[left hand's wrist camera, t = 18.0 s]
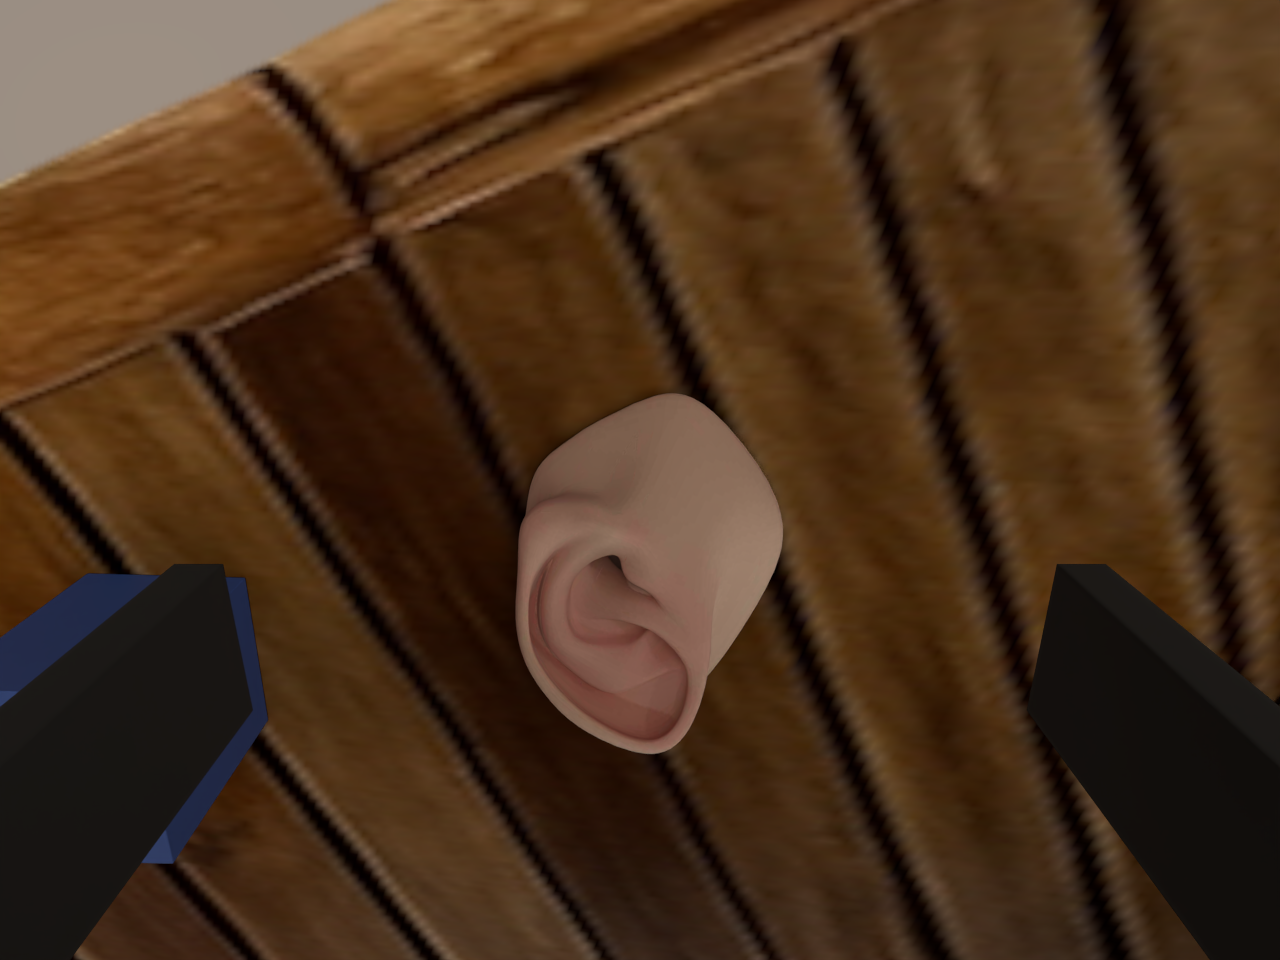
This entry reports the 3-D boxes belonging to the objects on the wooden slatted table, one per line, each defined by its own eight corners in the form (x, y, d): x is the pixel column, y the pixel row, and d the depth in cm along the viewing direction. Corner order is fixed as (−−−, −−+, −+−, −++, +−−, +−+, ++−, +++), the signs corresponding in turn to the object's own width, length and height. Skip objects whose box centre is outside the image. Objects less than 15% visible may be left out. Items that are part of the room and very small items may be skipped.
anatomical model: (624, 371, 26) (881, 555, 29) (625, 347, 30) (853, 511, 32) (419, 650, 30) (662, 789, 32) (442, 597, 34) (659, 726, 36)
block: (87, 573, 33) (-72, 689, 26) (245, 577, 33) (133, 694, 26) (122, 716, 36) (-13, 860, 28) (268, 720, 36) (173, 864, 29)
